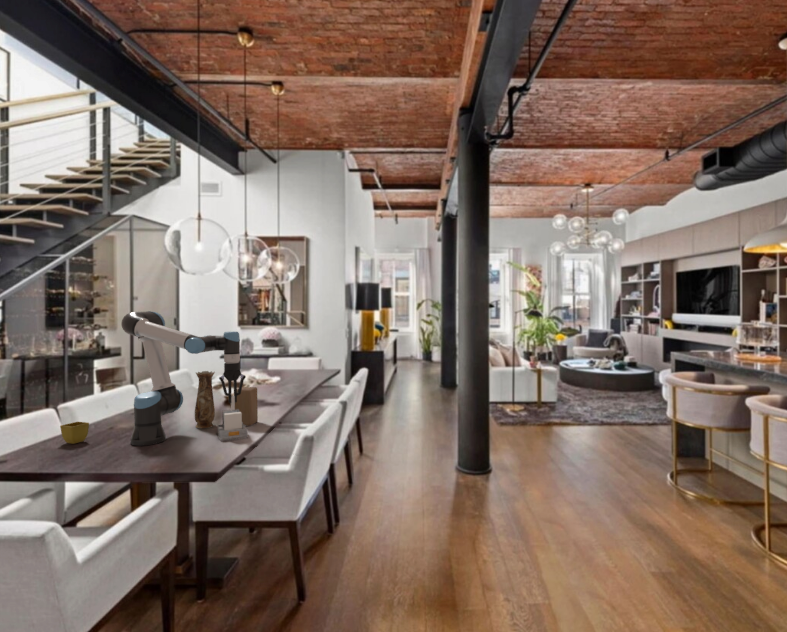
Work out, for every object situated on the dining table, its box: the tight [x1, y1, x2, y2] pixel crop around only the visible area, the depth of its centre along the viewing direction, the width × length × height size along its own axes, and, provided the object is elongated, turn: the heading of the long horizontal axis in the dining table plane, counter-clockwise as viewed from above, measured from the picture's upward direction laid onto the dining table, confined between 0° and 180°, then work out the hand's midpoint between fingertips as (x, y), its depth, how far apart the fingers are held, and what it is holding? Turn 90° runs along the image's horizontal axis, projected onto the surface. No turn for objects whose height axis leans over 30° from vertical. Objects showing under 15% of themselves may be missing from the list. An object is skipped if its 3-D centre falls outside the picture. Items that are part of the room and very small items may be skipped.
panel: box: [224, 412, 242, 430], centre depth 230 cm, size 8×4×11 cm, turn 117°
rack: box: [217, 409, 249, 442], centre depth 233 cm, size 13×16×12 cm
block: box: [235, 386, 259, 427], centre depth 256 cm, size 10×10×20 cm
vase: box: [194, 370, 216, 429], centre depth 251 cm, size 10×11×30 cm
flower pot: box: [59, 421, 90, 445], centre depth 223 cm, size 9×9×9 cm
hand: (232, 409), depth 230 cm, fingers closed
